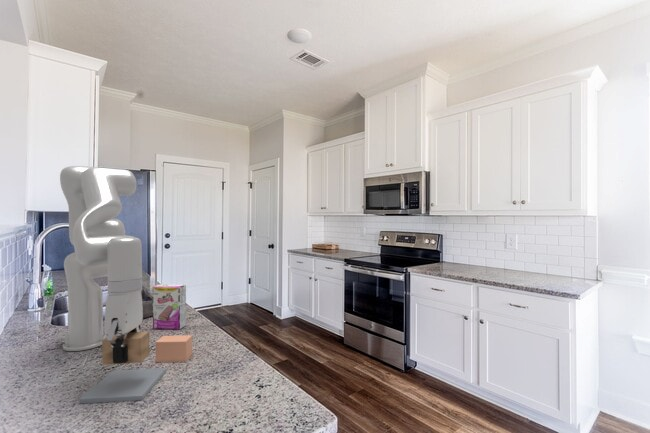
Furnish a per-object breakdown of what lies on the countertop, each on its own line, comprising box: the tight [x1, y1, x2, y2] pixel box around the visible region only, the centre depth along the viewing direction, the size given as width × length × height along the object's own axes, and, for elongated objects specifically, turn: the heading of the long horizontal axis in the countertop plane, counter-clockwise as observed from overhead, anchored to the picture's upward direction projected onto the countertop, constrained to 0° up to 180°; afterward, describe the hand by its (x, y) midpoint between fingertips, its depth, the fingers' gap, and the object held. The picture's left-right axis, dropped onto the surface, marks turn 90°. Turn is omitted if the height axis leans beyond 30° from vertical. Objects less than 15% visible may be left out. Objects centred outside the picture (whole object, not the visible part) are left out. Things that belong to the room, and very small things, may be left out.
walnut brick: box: [101, 330, 151, 366], centre depth 83 cm, size 9×5×6 cm, turn 97°
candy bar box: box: [152, 283, 187, 331], centre depth 127 cm, size 11×5×16 cm, turn 84°
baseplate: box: [78, 367, 167, 404], centre depth 84 cm, size 14×14×1 cm
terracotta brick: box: [154, 334, 194, 363], centre depth 100 cm, size 9×5×6 cm, turn 92°
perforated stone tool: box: [142, 299, 153, 319], centre depth 142 cm, size 15×5×7 cm, turn 141°
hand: (126, 356), depth 83 cm, fingers closed on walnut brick, 5 cm apart
